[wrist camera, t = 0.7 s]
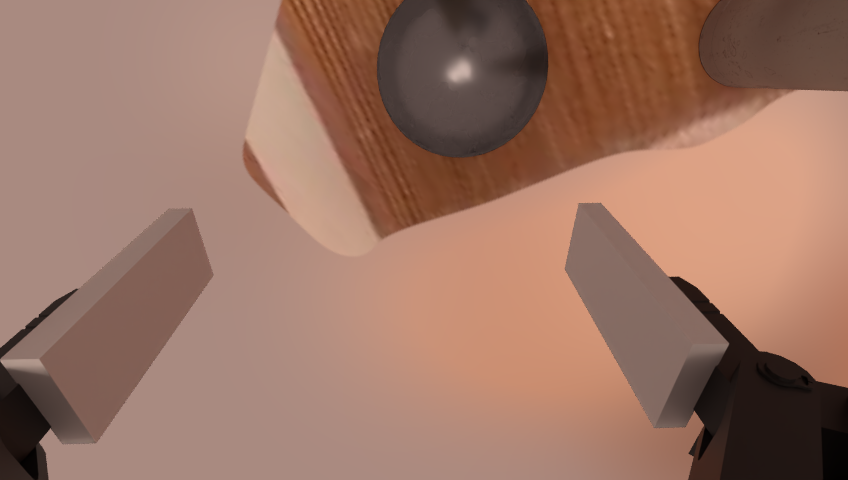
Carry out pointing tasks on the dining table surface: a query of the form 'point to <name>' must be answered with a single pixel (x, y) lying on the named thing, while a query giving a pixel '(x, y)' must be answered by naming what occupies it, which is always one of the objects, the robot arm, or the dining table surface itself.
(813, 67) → the thermos bottle
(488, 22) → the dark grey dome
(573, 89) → the dining table surface
